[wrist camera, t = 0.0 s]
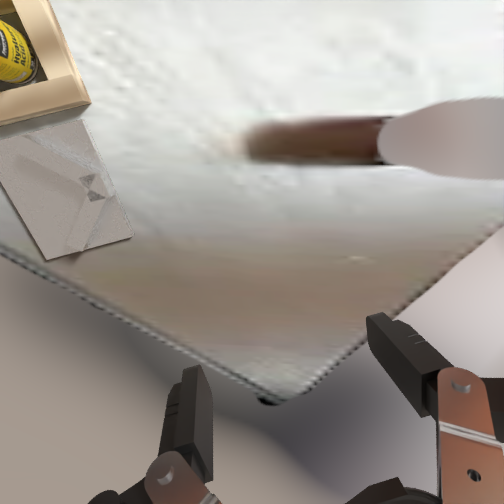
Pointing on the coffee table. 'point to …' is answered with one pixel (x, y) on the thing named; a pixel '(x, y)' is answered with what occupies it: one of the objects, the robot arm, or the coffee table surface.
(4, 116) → the square frame block
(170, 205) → the coffee table surface
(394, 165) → the coffee table surface
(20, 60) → the supplement bottle
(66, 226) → the v block
